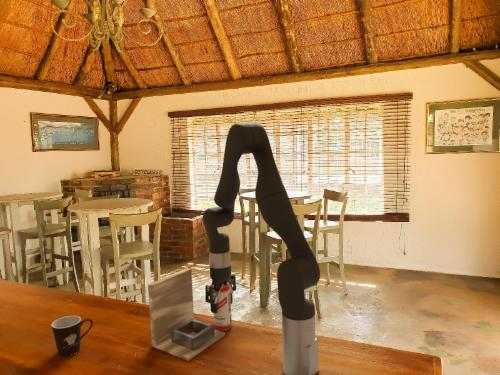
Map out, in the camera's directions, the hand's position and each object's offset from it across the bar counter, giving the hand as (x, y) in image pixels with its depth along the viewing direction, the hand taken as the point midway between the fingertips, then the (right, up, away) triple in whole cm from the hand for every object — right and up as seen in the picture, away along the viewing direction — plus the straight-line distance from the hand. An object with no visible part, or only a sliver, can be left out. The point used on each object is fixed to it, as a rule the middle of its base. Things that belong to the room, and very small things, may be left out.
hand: (222, 308), depth 138 cm
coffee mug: (-47, -10, -11) cm, 49 cm away
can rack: (-10, -9, -7) cm, 15 cm away
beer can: (0, -7, +1) cm, 7 cm away
